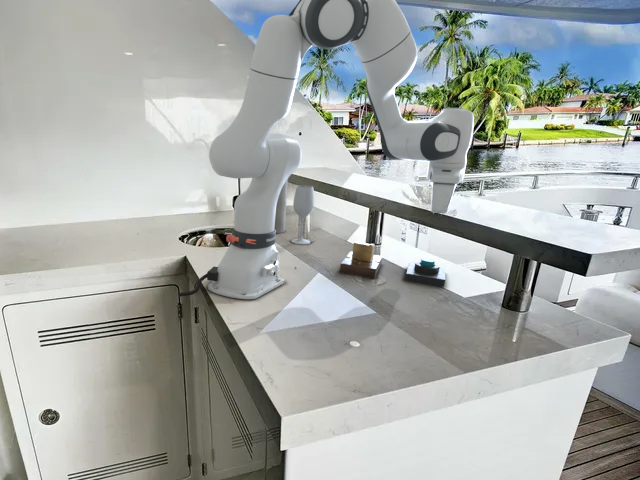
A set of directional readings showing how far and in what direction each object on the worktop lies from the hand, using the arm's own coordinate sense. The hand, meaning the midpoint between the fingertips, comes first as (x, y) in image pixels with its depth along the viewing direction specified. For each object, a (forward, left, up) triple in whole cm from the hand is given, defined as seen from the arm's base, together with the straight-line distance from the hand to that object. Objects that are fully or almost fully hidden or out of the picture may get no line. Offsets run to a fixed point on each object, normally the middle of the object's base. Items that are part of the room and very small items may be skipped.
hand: (435, 224), depth 106 cm
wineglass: (+18, +44, -16) cm, 50 cm away
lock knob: (-2, +18, -13) cm, 22 cm away
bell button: (0, 0, -12) cm, 12 cm away
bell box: (0, 0, -16) cm, 16 cm away
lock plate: (-2, +18, -16) cm, 24 cm away
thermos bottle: (+29, +59, -16) cm, 68 cm away
